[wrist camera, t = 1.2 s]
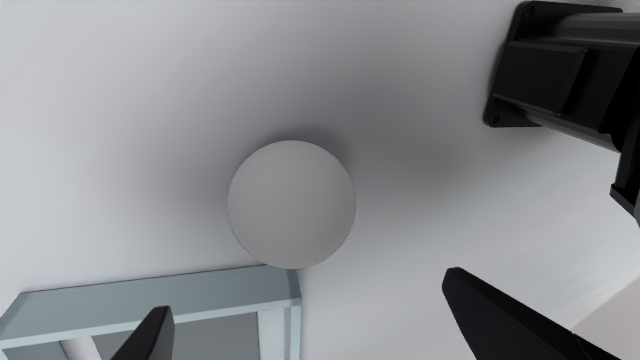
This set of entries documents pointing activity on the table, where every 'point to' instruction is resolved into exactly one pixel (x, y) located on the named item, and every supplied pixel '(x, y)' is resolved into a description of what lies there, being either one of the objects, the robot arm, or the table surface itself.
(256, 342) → the pad
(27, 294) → the light blue tray
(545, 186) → the table surface
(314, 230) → the ball
